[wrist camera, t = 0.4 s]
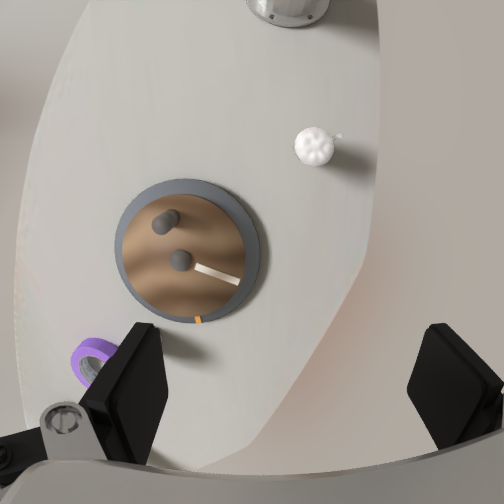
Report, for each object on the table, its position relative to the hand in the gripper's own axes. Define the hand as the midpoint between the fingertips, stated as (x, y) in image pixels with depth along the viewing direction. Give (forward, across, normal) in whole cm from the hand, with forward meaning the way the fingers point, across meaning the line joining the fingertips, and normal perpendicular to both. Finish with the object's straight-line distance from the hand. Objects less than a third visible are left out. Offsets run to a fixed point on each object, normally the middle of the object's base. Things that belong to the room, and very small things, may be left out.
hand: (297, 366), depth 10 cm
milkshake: (+35, -5, -9) cm, 37 cm away
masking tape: (+36, +30, +29) cm, 55 cm away
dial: (+34, +12, +7) cm, 36 cm away
